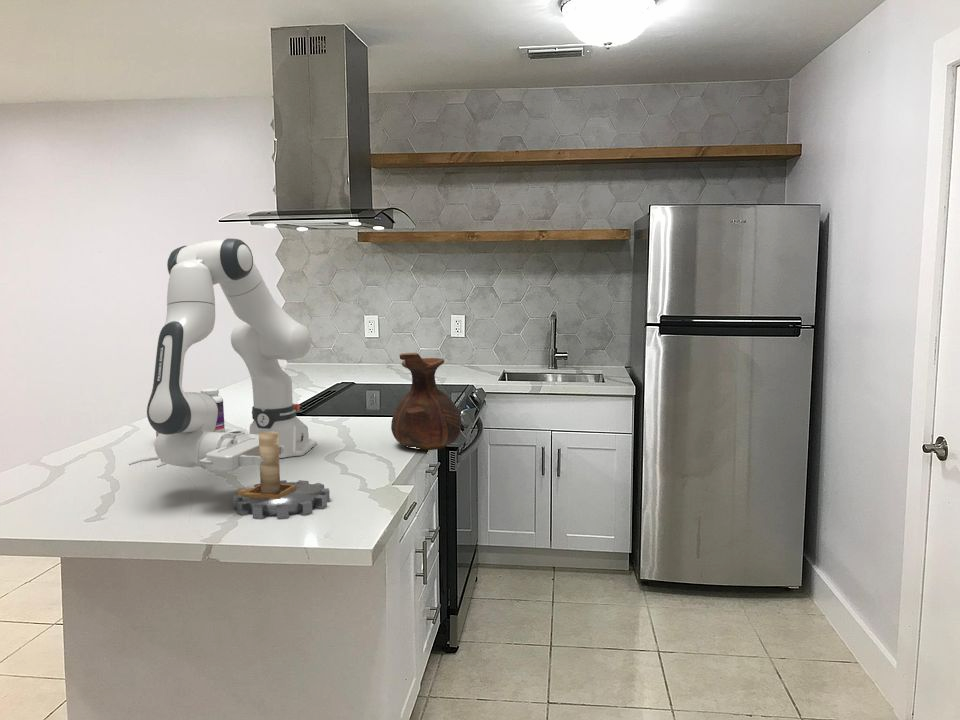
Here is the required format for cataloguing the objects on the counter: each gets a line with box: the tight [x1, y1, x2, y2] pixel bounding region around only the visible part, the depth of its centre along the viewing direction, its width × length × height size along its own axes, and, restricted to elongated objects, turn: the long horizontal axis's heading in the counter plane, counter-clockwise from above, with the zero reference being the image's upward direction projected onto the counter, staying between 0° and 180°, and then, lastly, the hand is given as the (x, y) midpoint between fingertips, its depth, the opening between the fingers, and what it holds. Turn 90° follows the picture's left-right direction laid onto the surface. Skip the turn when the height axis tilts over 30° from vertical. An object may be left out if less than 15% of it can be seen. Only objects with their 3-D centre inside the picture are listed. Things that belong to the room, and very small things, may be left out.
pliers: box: [128, 456, 168, 468], centre depth 221 cm, size 10×2×15 cm
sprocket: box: [232, 479, 331, 520], centre depth 181 cm, size 22×22×3 cm
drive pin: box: [259, 431, 281, 495], centre depth 180 cm, size 4×4×14 cm
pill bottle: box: [200, 387, 226, 432], centre depth 254 cm, size 8×8×14 cm
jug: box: [390, 352, 462, 451], centre depth 235 cm, size 22×22×30 cm
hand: (272, 455), depth 180 cm, fingers open, 8 cm apart
